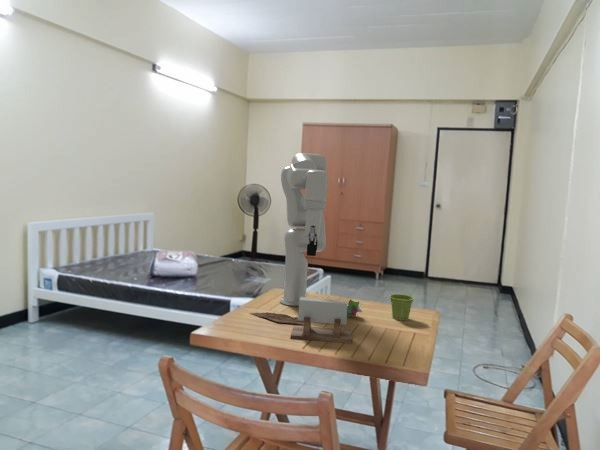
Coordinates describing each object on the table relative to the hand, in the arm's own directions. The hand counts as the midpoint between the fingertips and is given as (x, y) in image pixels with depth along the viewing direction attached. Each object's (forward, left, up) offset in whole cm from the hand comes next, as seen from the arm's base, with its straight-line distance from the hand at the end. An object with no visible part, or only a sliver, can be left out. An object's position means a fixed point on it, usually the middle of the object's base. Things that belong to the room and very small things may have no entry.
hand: (311, 253), depth 170 cm
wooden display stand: (+12, +5, -26) cm, 29 cm away
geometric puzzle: (-14, +16, -26) cm, 34 cm away
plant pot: (-17, +35, -26) cm, 47 cm away
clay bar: (+12, +5, -21) cm, 25 cm away
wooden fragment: (-4, -11, -27) cm, 29 cm away
